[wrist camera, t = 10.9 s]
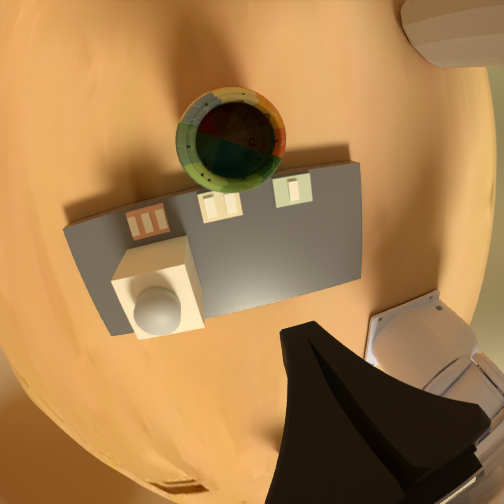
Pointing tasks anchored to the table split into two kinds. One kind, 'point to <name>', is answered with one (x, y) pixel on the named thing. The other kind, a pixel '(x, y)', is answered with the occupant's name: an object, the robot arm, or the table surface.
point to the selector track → (235, 239)
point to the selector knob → (160, 288)
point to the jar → (230, 140)
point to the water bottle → (456, 31)
